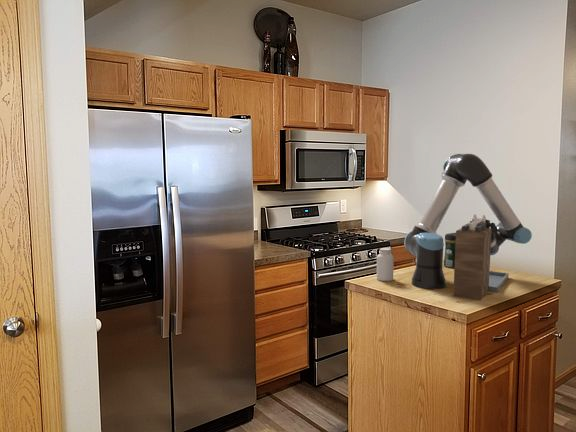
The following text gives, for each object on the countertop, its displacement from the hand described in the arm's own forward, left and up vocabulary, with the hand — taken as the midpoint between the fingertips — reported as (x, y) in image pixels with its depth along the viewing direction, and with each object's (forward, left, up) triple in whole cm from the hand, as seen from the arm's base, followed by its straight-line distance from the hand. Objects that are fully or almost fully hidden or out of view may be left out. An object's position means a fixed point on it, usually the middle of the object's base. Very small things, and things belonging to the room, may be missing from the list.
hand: (478, 217), depth 201 cm
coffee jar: (-5, +45, -32) cm, 56 cm away
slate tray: (+5, +15, -32) cm, 36 cm away
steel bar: (-1, -2, -4) cm, 5 cm away
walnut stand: (-3, -8, -32) cm, 33 cm away
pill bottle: (-40, +8, -32) cm, 52 cm away
